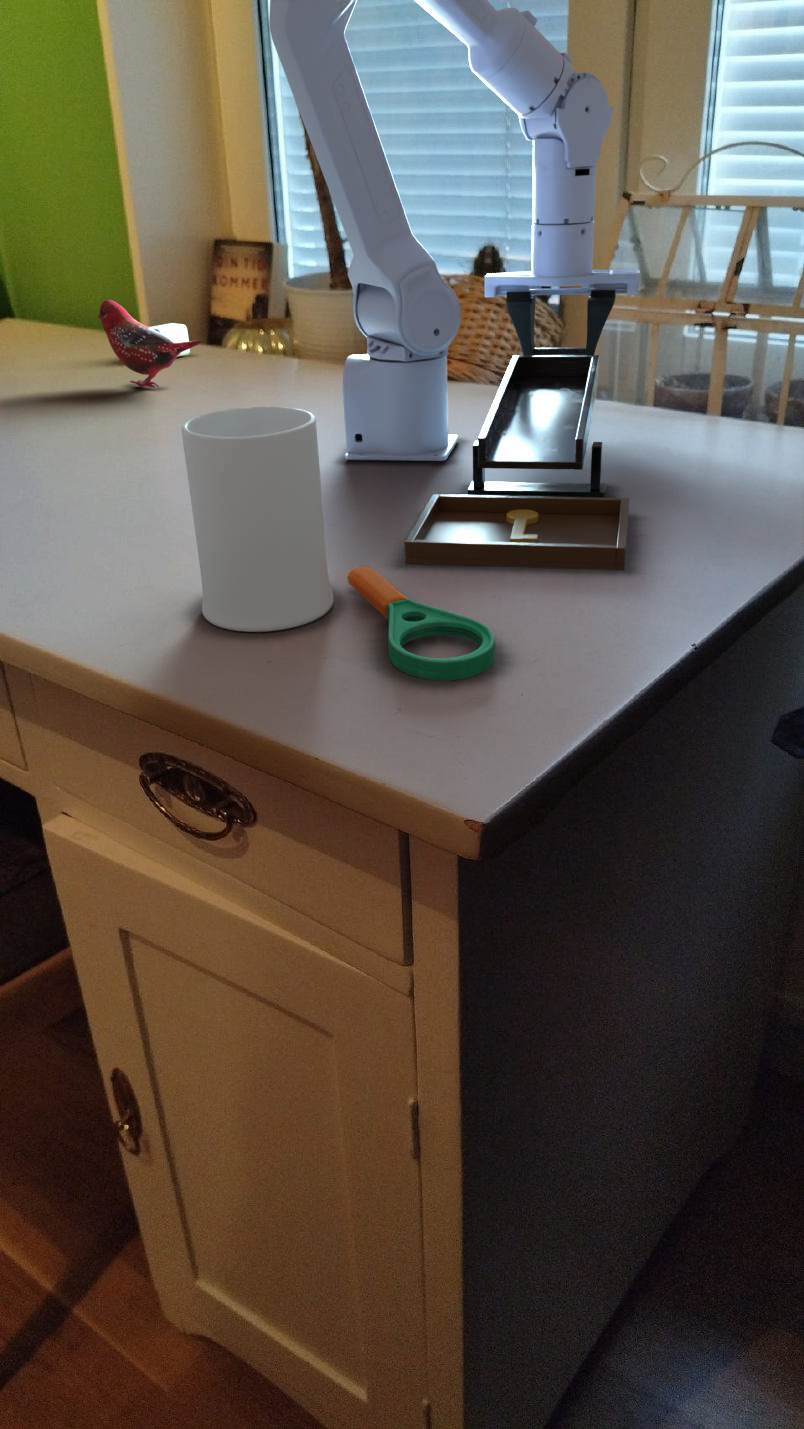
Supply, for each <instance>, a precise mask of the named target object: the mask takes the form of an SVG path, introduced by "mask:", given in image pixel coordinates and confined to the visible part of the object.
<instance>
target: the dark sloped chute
mask: <svg viewBox="0 0 804 1429" xmlns="http://www.w3.org/2000/svg"><path fill="white" fill-rule="evenodd" d="M585 352H586V346H585V347H584V346H583V347H582V346H581V347H580V346H579V347H535V348H534V354H533V355H523V354H522V355H521V354H520V355H517V354H515V355H512V358H511V359H510V362H509V365H508V366H507V369H506V371H505V374H504V376H503V378H502V381H501V383H500V386H499V388H498V390H497V392H496V395H495V398H494V400H493V402H492V404H491V407H490V409H489V412H488V414H487V416H486V418H485V421H484V423H483V426H482V428H481V430H480V433H479V435H478V436H477V441H478V460H479V461H478V468H485V469H502V470H503V469H505V470H506V469H509V470H511V469H513V470H514V469H515V470H569V471H570V470H571V471H573V470H574V471H575V470H577V471H578V470H579V471H582V470H584V465H585V458H586V452H587V446H588V441H589V435H590V430H591V423H592V417H593V412H594V406H595V401H596V394H597V388H598V383H599V368H600V365H599V364H600V355H599V354H594V355H585Z"/></svg>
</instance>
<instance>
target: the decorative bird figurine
mask: <svg viewBox="0 0 804 1429" xmlns="http://www.w3.org/2000/svg"><path fill="white" fill-rule="evenodd" d="M97 319H98V320H100V322H101V325H102V328H103V331H104V332H105V335H106V337H107V341H108V343H109V345H110V348H111V349H112V351H113V354H114V355H115V356H116V357H117V358H118V361H120V362H121V363H122V364H123V365H124V366H125V367H127V368H128V369H129V370H131V371H132V372H135V373H137V374H139V375H145V376H146V375H147V377H146V378H144V380H141V379H139V380H137V381H135V380H130V381H129V383H132V384H135V385H137V386H138V387H141V388H144V387H149V388H155V386H156V387H158V388H159V387H160V386H159V385H158V384H157V382H155V381H152V380H153V379H154V378H156V377H157V374H159V373H160V372H161V371H162V370H164V369H167V368H169V367H171V366H172V365H173V364H174V362H175V361H176V359H177V358H178V357H179V356H178V355H179V354H180V353H181V352H183V351H185V350H188V349H190V350H191V349H192V348H194V347H197V346H198V345H200V344H202V343H203V341H202V340H200V339H196V340H189V341H187V342H180V343H173V342H172V341H171V340H170V339H168V338H167V337H165V336H164V335H162V334H161V333H159V332H158V331H156V330H154V329H152V328H150V327H151V326H148V325H145V324H143V323H141V322H140V321H138V320H136V319H135V318H134V317H132V315H131V314H129V312H128V311H127V310H126V309H125V307H123V305H120V304H119V303H118V302H116V301H114V300H111V299H105V300H104V301H102V302H101V305H100V307H99V314H98V315H97ZM177 356H178V357H177Z"/></svg>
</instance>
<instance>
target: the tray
mask: <svg viewBox="0 0 804 1429" xmlns="http://www.w3.org/2000/svg"><path fill="white" fill-rule="evenodd" d="M629 508H630V498H629V497H577V496H528V495H479V494H444V493H440V494H438V493H433V494H431V496H430V498H429V500H428V501H427V503H426V504H425V506H424V508H423V510H422V512H421V513H420V515H419V517H418V518H417V520H416V521H415V523H414V526H413V527H412V529H411V530H410V532H409V534H408V536H407V537H406V539H404V540H405V541H404V557H405V558H404V560H405V561H404V563H405V564H415V565H416V564H417V565H418V564H421V565H448V566H449V565H450V566H476V567H477V566H478V567H481V566H483V567H508V568H511V567H512V568H538V569H541V568H542V569H568V570H569V569H572V570H598V571H599V570H600V571H601V570H602V571H625V567H626V552H627V541H628V540H627V538H628V525H629V523H628V522H629ZM520 509H526V510H532V511H535V512H537V513H538V521H537V522H536V523H534V524H530V525H527V527H526V532H525V534H538V543H519V542H510V537H511V533H512V529H513V526H514V524H510V523H508V522H507V513H508V512H510V511H513V510H520Z"/></svg>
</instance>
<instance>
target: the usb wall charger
mask: <svg viewBox="0 0 804 1429" xmlns="http://www.w3.org/2000/svg"><path fill="white" fill-rule="evenodd" d="M149 327H150V328H152V329H154V330H156V331H158V332H159V333H161V334H162V335H164V336H165V337H167V338H168V339H170V340H171V341H172V342H173V343H180V342H187V341H190V340H189V333H188V327H187V326H186V324H184V323H183V324H182V323H176V322H170V323H165V324H159V325H153V326H149ZM190 353H191V348H190V349H188V350H185V351H183V352H181V353H180V354H179V355H178V356H177V357H176V358H178V357H182V356H188V355H189V354H190Z"/></svg>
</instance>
